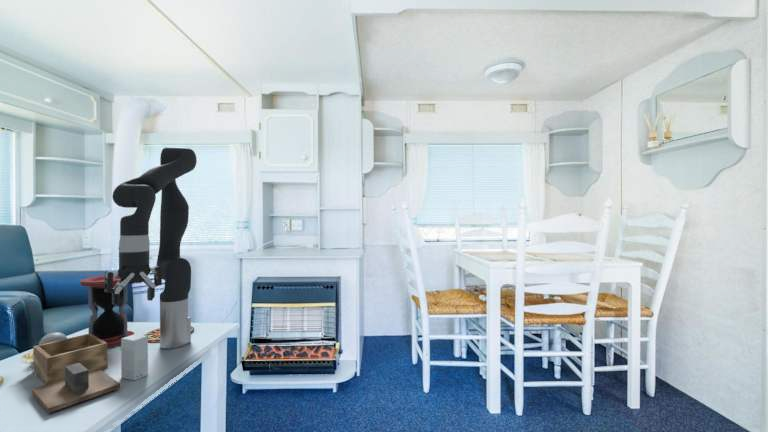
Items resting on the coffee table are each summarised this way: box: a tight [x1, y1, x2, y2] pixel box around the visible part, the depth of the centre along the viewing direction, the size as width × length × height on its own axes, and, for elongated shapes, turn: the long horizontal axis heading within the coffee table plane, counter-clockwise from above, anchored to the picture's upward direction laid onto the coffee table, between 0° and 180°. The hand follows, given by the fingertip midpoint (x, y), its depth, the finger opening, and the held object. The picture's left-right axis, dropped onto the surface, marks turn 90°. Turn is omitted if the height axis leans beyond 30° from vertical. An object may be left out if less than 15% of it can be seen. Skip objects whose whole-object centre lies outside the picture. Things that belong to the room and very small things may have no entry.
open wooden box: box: [32, 333, 109, 385], centre depth 108 cm, size 14×16×8 cm
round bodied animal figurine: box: [38, 331, 68, 345], centre depth 117 cm, size 7×12×8 cm, turn 125°
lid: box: [31, 363, 121, 414], centre depth 94 cm, size 15×17×7 cm
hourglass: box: [80, 275, 135, 349], centre depth 131 cm, size 16×16×25 cm
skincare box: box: [120, 333, 149, 381], centre depth 103 cm, size 6×4×12 cm
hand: (134, 302), depth 103 cm, fingers open, 8 cm apart
